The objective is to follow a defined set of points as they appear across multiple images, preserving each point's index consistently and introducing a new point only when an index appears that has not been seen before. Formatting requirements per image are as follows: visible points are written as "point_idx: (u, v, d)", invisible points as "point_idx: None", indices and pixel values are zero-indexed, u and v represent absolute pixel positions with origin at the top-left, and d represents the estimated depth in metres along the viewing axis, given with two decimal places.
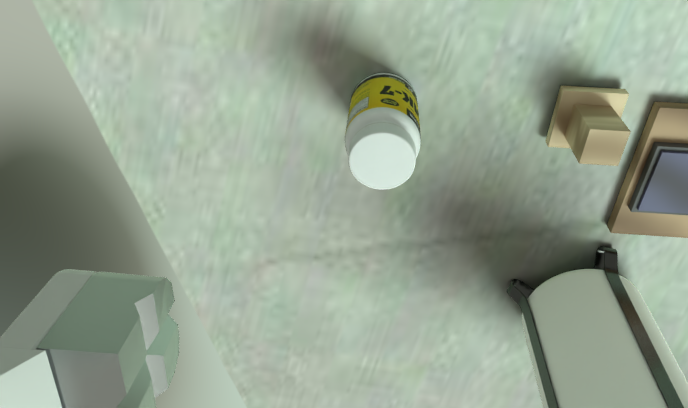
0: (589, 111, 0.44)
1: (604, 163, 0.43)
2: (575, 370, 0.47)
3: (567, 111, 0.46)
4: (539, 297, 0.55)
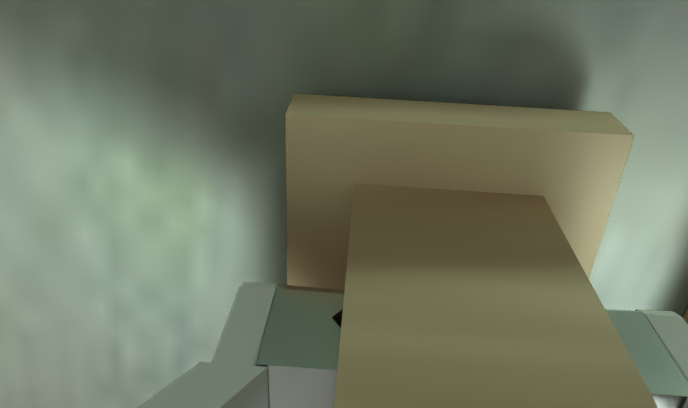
0: (413, 231, 0.08)
1: None
2: None
3: (332, 220, 0.09)
4: None
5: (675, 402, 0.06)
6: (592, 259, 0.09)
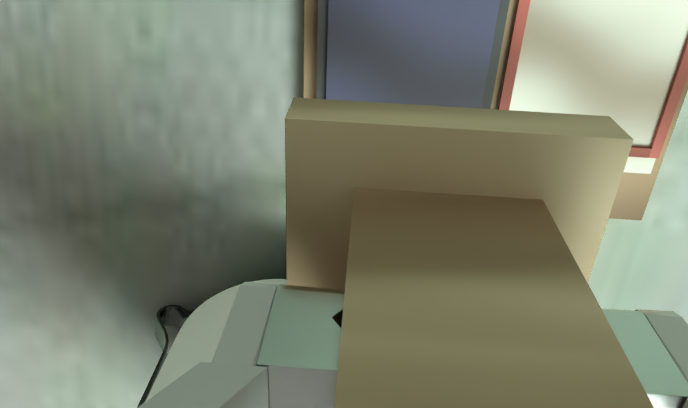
0: (413, 236, 0.08)
1: None
2: None
3: (332, 224, 0.09)
4: (175, 339, 0.26)
5: (675, 402, 0.06)
6: (592, 262, 0.09)
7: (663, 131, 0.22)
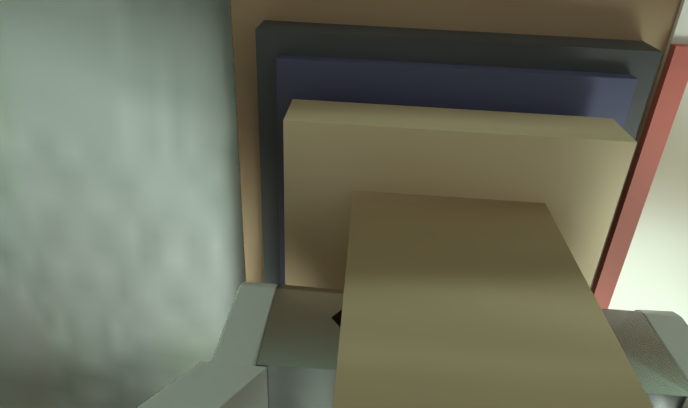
0: (413, 240, 0.08)
1: None
2: None
3: (331, 227, 0.09)
4: None
5: (675, 402, 0.06)
6: (594, 266, 0.09)
7: None
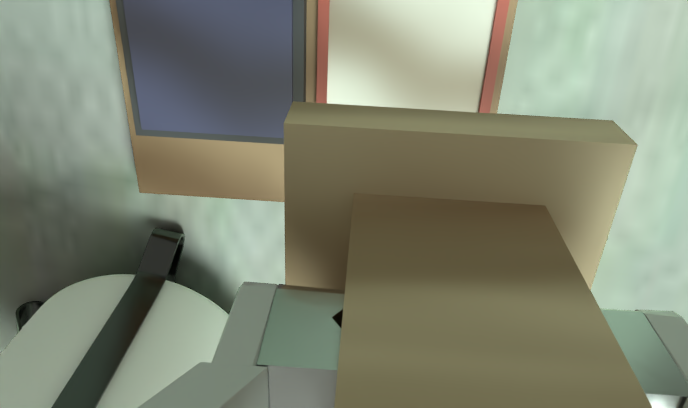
0: (413, 243, 0.08)
1: None
2: None
3: (332, 229, 0.09)
4: None
5: (675, 402, 0.06)
6: (594, 269, 0.09)
7: None
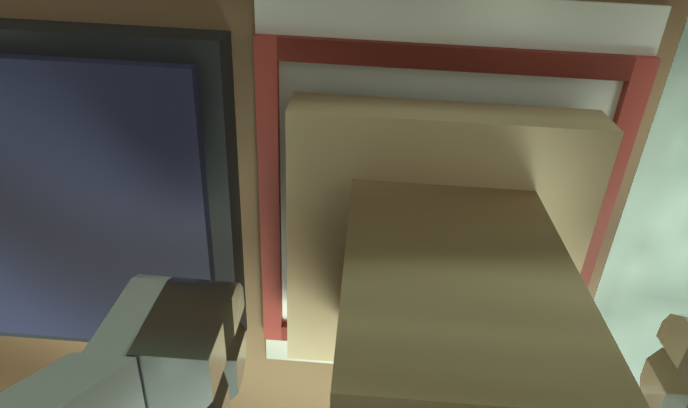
0: (409, 225, 0.08)
1: None
2: None
3: (331, 215, 0.10)
4: None
5: None
6: (584, 253, 0.10)
7: None
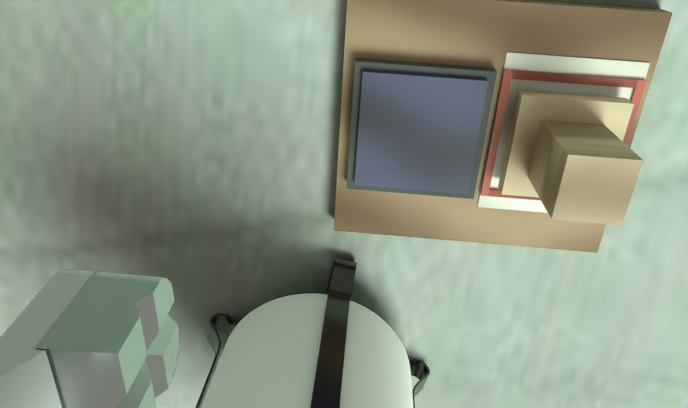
0: (567, 130, 0.25)
1: (597, 220, 0.24)
2: None
3: (530, 133, 0.27)
4: (229, 340, 0.33)
5: None
6: None
7: None
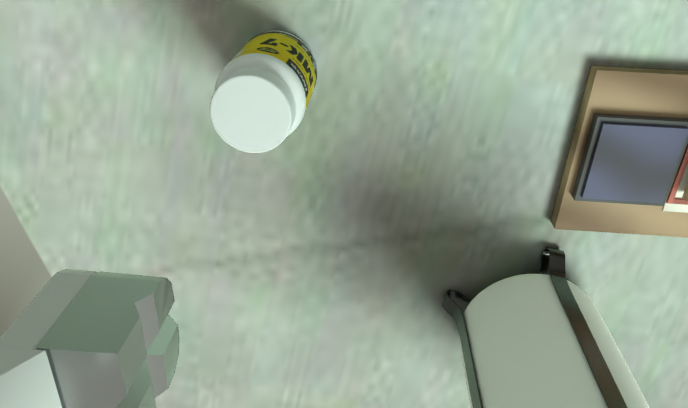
0: None
1: None
2: (509, 389, 0.37)
3: None
4: (475, 308, 0.46)
5: None
6: None
7: None
